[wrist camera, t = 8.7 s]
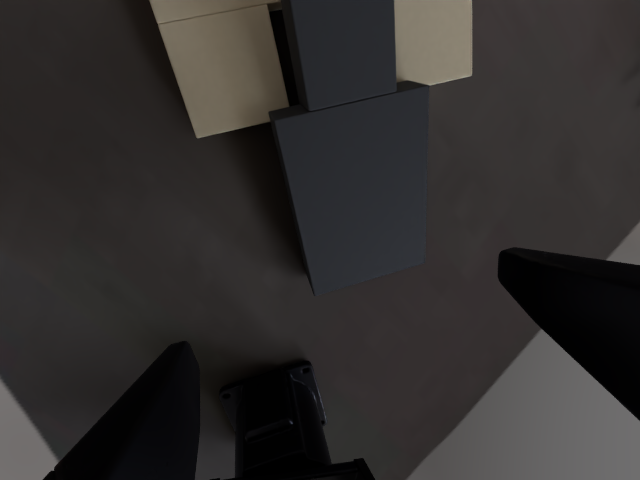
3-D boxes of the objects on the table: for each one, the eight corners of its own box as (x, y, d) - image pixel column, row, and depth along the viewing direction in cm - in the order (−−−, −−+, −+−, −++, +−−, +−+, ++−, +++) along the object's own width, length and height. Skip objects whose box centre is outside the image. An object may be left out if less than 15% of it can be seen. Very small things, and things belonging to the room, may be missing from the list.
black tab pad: (409, 245, 22) (425, 263, 20) (307, 275, 21) (314, 296, 19) (407, -24, 14) (432, -33, 12) (242, 6, 13) (245, 1, 11)
